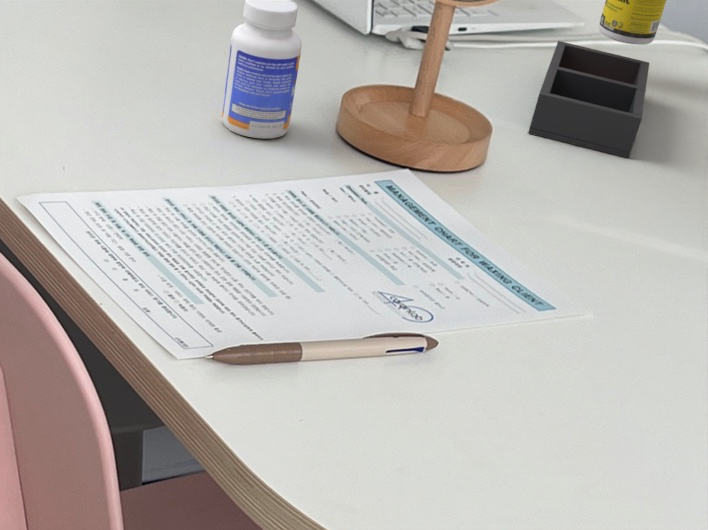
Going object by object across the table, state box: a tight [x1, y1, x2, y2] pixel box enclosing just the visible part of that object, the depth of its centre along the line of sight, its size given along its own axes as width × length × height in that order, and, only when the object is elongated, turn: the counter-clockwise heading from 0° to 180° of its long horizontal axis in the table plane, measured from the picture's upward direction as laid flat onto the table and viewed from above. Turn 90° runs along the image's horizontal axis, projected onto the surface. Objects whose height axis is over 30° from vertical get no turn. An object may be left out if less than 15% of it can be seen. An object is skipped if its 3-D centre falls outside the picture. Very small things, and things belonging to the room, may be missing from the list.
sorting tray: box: [527, 40, 650, 159], centre depth 116 cm, size 16×9×4 cm, turn 164°
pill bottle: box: [221, 0, 303, 140], centre depth 100 cm, size 5×5×10 cm
